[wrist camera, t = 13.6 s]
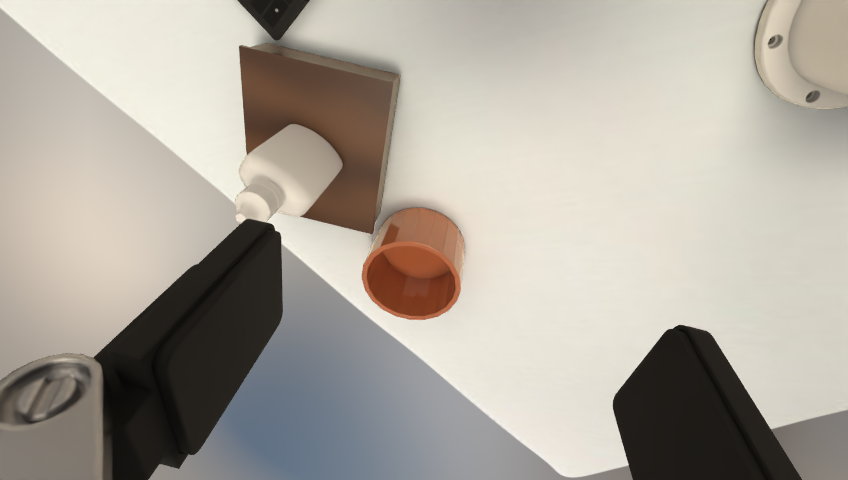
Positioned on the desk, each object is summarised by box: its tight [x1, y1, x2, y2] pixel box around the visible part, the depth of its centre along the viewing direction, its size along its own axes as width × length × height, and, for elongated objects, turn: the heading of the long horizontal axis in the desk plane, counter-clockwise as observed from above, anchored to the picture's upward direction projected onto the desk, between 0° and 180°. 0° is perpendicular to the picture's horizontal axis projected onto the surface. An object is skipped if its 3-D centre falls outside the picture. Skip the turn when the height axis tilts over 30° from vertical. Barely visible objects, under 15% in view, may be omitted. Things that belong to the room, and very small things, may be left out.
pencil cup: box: [362, 208, 465, 320], centre depth 40 cm, size 10×10×6 cm
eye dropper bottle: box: [235, 124, 343, 223], centre depth 29 cm, size 4×6×12 cm
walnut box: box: [239, 43, 400, 234], centre depth 36 cm, size 14×12×4 cm
